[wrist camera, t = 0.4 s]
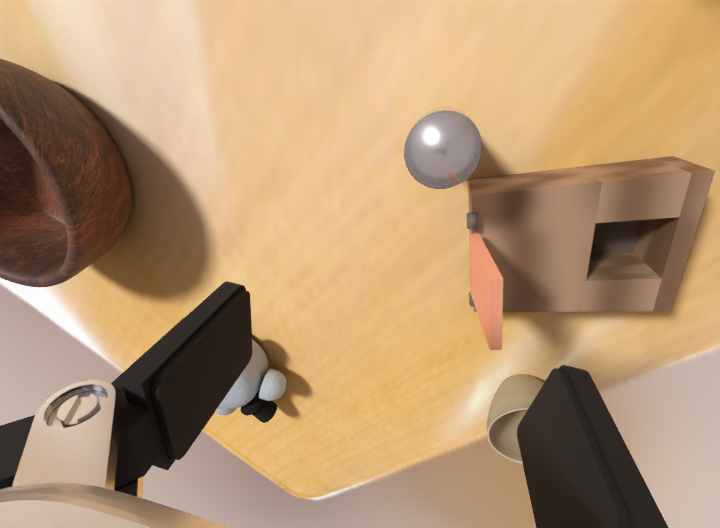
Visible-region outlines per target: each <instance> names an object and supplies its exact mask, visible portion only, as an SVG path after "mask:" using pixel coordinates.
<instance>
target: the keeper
mask: <svg viewBox="0 0 720 528" xmlns="http://www.w3.org/2000/svg"><path fill="white" fill-rule="evenodd" d="M469 253H470V288H471V296H472V299H473V302H474V305H475V308H476V311H477V314H478V316H479V319H480V322H481V325H482V328H483V331H484V334H485V337H486V340H487V343H488V346H489V349H490V350H501V349H502V313H503V277H502V275H501V273H500V272H499V270H498V268H497V266H496V264H495V262H494V260H493V259H492V257H491V255H490V253H489V251H488V249H487V247H486V246H485V244H484V242H483V240H482V238H481V236H480V234H479V233H476V234H469Z"/></svg>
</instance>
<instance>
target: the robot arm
mask: <svg viewBox="0 0 720 528" xmlns="http://www.w3.org/2000/svg"><path fill="white" fill-rule="evenodd" d="M252 352H253V350H252V329H251V308H250V293H249V292H248V291H246V289H245V287H244V286H243V285H239V284H235V283H231V282H224V283H223V284H222V285H221V286H220V287H218V288H217V289H216V290H215V291H214V292H213V293H212V294H211V295H210V296H208V297H207V298H206V299H205V300H204V301H203V302H202V303H201V304H200V305H199V306H197V307H196V308H195V309H194V310H193V311H192V312H191V313H190V314H189V315H187V316H186V317H185V318H184V319H182V320H181V321H180V322H179V323H178V324H177V325H176V326H174V327H173V328H172V329H171V330H170V331H169V332H168V333H167V334H166V335H164V336H163V337H162V338H161V339H160V340H159V341H158V342H157V343H156V344H154V345H153V346H152V347H151V348H150V349H149V350H148V351H147V352H146V353H144V354H143V355H142V356H141V357H140V358H139V359H138V360H137V361H136V362H134V363H133V364H132V365H131V366H130V367H129V368H128V369H127V370H126V371H124V372H123V373H122V374H121V375H120V376H119V377H118V378H117V379H116V380H114V381H113V382H112V383H109V382H107V381H104V380H97V379H91V380H85V381H80V382H77V383H74V384H71V385H69V386H67V387H65V388H63V389H61V390H59V391H57V392H56V393H55V394H53V395H52V396H50V397H49V398H48V399H47V400H46V401H45V402H44V403H43V404H42V405H41V406H40V407H39V409H38V411H37V413H36V415H34V416H31V417H27V418H24V419H21V420H18V421H15V422H11V423H8V424H5V425H1V426H0V528H230V527H227V526H224V525H221V524H218V523H216V522H213V521H210V520H207V519H204V518H201V517H198V516H195V515H192V514H189V513H186V512H183V511H180V510H177V509H174V508H171V507H167V506H164V505H161V504H158V503H155V502H152V501H148V500H145V499H142V491H143V476H144V475H145V474H146V473H147V471H148V470H149V469H150V467H151V466H152V465H154V466H157V467H160V468H163V469H166V470H168V469H169V468H170V466H171V465H172V464H173V462H174V461H175V460H176V459H177V460H179V459H181V458H182V457H183V456H184V455H185V454H186V452H187V451H188V450H189V448H190V447H191V445H192V444H193V442H194V441H195V439H196V438H197V437H198V435H199V434H200V432H201V431H202V429H203V428H204V427H205V425H206V424H207V422H208V421H209V419H210V418H211V416H212V415H213V414H214V412H215V411H216V409H217V408H218V406H219V405H220V404H221V402H222V401H223V399H224V398H225V396H226V395H227V393H228V392H229V391H230V389H231V388H232V386H233V385H234V383H235V382H236V381H237V379H238V378H239V376H240V375H241V373H242V372H243V370H244V369H245V368H246V366H247V365H248V363H249V362H250V360H251V357H252ZM517 439H518V444H519V448H520V453H521V458H522V462H523V467H524V472H525V476H526V480H527V486H528V490H529V495H530V499H531V504H532V508H533V513H534V518H535V522H536V527H537V528H668V526H667V524H666V522H665V520H664V518H663V517H662V514H661V513H660V511H659V509H658V507H657V505H656V503H655V501H654V499H653V497H652V495H651V493H650V491H649V489H648V487H647V485H646V483H645V481H644V479H643V477H642V476H641V474H640V472H639V470H638V468H637V466H636V464H635V462H634V460H633V458H632V456H631V454H630V452H629V450H628V448H627V446H626V445H625V442H624V440H623V438H622V436H621V434H620V433H619V431H618V429H617V427H616V425H615V423H614V421H613V419H612V417H611V415H610V413H609V411H608V409H607V407H606V405H605V403H604V401H603V399H602V397H601V395H600V393H599V392H598V390H597V388H596V386H595V384H594V382H593V380H592V378H591V376H590V374H589V373H588V372H587V371H586V370H582V369H578V368H574V367H570V366H566V365H562V366H561V367H560V368H559V369H556V368H555V369H553V370H552V371H551V373H550V375H549V376H548V378H547V380H546V381H545V383H544V384H543V386H542V388H541V389H540V391H539V392H538V394H537V396H536V397H535V399H534V400H533V402H532V404H531V405H530V407H529V408H528V410H527V412H526V413H525V415H524V417H523V418H522V420H521V421H520V423H519V425H518V428H517Z"/></svg>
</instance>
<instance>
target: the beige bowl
mask: <svg viewBox="0 0 720 528" xmlns="http://www.w3.org/2000/svg"><path fill="white" fill-rule="evenodd" d="M543 384H544V383H543V382H542V381H540V380H539V379H537V378H535V377H533V376H530V375H522V374H520V375H514V376H511V377H509V378H507V379H506V380H504V381H503V383H502V384H501V385H500V387H499V388H498V390H497V392H496V394H495V396H494V398H493V400H492V403H491V406H490V410H489V415H488V422H487V438H488V441H489V443H490V445H491V447H492V448H493V449H494V450H495V451H496V452H497V453H499V454H500V455H502V456H503V457H505V458H507V459H509V460H512V461H514V462H517V463H521V464H523V462H522V458H521V453H520V448H519V444H518V439H517V428H518V425H519V423H520V421H521V420H522V418H523V417H524V415H525V413H526V412H527V410H528V408H529V407H530V405H531V404H532V402H533V400H534V399H535V397H536V396H537V394H538V392H539V391H540V389H541V388H542V386H543Z"/></svg>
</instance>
